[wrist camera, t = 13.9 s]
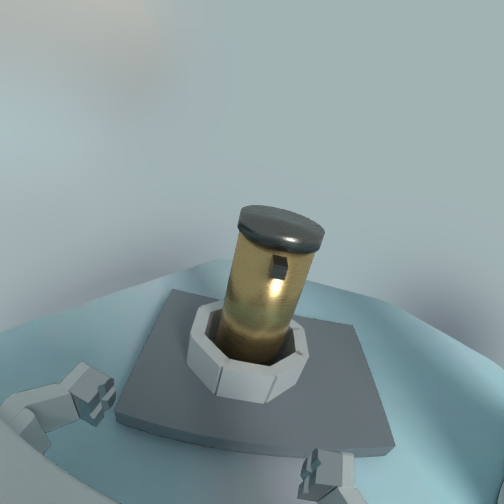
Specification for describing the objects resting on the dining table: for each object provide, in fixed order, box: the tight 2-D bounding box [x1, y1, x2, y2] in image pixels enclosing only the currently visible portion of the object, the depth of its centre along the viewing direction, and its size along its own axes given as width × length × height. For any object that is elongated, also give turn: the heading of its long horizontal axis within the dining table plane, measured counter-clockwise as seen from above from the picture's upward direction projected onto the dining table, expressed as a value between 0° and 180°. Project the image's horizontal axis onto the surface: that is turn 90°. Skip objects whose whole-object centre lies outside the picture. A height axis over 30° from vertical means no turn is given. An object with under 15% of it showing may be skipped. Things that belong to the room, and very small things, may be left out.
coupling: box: [215, 205, 325, 366], centre depth 21 cm, size 8×5×12 cm
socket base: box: [114, 289, 395, 458], centre depth 23 cm, size 20×16×4 cm
